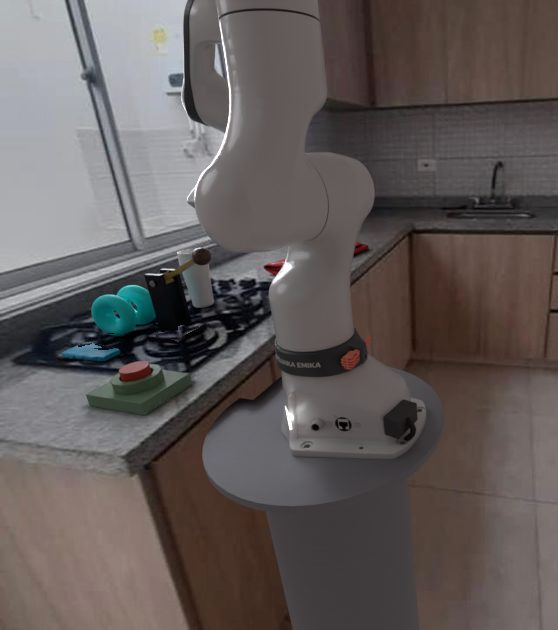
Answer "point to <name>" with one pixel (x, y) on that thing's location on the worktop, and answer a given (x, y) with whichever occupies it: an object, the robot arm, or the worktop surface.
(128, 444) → the worktop surface
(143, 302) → the turquoise double disc spool
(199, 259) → the lever
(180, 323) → the bracket
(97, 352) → the sponge
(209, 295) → the drinking glass
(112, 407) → the button box
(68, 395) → the worktop surface
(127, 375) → the button
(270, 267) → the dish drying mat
